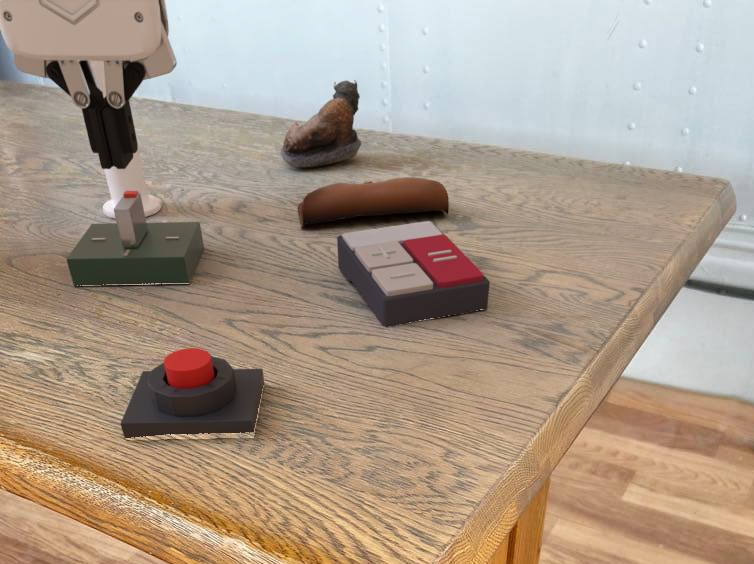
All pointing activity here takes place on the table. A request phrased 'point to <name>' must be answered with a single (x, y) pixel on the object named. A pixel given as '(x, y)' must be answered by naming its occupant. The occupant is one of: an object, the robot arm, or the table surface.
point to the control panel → (137, 255)
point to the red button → (189, 368)
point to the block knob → (131, 219)
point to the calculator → (411, 273)
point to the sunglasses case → (372, 199)
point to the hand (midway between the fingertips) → (118, 162)
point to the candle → (125, 170)
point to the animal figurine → (325, 132)
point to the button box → (194, 403)
